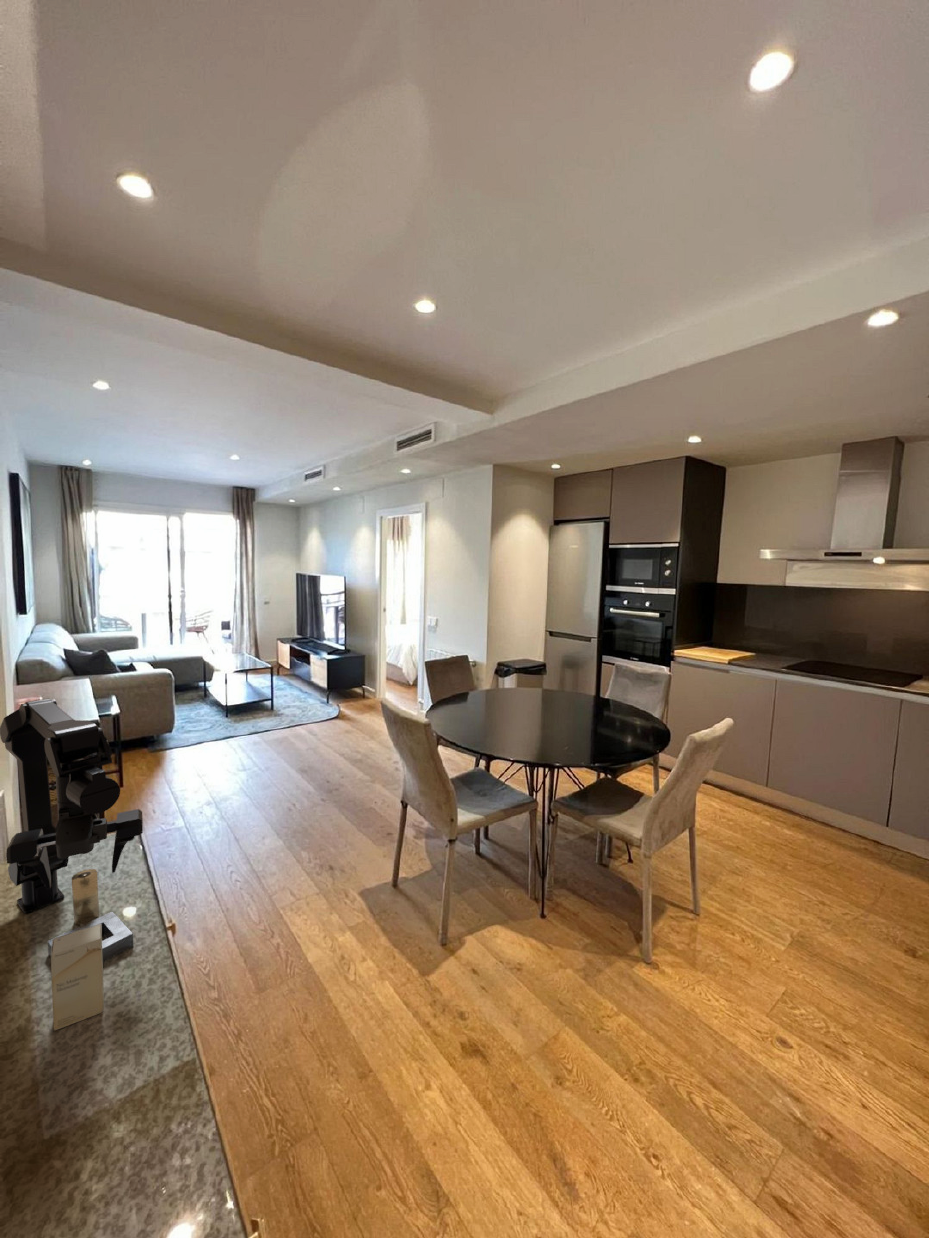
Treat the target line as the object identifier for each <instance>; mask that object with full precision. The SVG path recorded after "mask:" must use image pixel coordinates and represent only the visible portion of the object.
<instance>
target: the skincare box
mask: <svg viewBox="0 0 929 1238" xmlns="http://www.w3.org/2000/svg"><path fill="white" fill-rule="evenodd" d="M59 936H60V935H59ZM56 937H57V938H55V937H54V938H52V939H53V942H52V948H51V957H50V965H51V966H50V969H51V992H52V995H51V996H52V1017H53V1019H52V1021H53V1031H57V1030H60V1029H63V1028H66V1027H68V1026H71V1025H73V1024H75V1023H78V1022H81V1021H83V1020H86V1019H88V1018H91V1017H93V1016H96V1015H99V1014H101V1013H103V1012H104V1005H105V1003H104V1000H105V993H104V990H105V989H104V968H103V967H104V965H103V963H104V962H103V958H102V941H103V935H102V925H101V924H98V925H95V926H92V927H88V928H85V929H82V930H78V931H75V932H72V933H69V934H66V935H63V936H60V937H58V936H56Z"/></svg>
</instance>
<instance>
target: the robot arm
mask: <svg viewBox="0 0 929 1238" xmlns="http://www.w3.org/2000/svg"><path fill="white" fill-rule="evenodd" d="M0 740H1V742H2V743H3V744H4V745H5V747H4V748H5V749H6V751H8V753H10V754H11V755H12V756H13V757H14V758H15V759H16V761H17V769H18V781H19V793H20V801H21V802H20V804H21V814H22V815H21V816H22V823H23V824H22V825H23V830H22V832H17V833H15V834H14V835H13V837H12V838H11V839H10V841H9V843H8V846H7V848H6V853H5V854H6V855H5V856H6V864H8V867H7V871H8V876H9V880H10V881H12V883H13V884H14V885H15V886H16V887H17V886H20V885H21V886H20V887H21V898H18V899H16V904H17V905H18V906H19V907H20V910H21V911H22V912H23V914H24V915H26V914H29V913H32V912H34V911H36V910H39V909H41V908H43V907H46V906H50V905H51V904H54V903H56V902H58V901H61V900H63V899H64V898H65V893H63V892H62V891H61V889H60V888H59V885H58V884H59V883H58V870H61V869H63V868H67V867H68V863H69V859H70V858H69V857H73V856H78V855H85V854H88V853H90V852H92V851H93V850H94V848H95V846H94V845H95V844H98V843H101V841H104V840H107V838H108V834H111V833H115V836H114V844H113V845H114V846H113V851H112V852H113V853H112V860H111V861H112V862H111V872H112V874H113V873H116V870H117V866H118V864H119V861H120V858H121V855H122V852H123V850H124V848H125V846H126V844H128V842H131V841H133V840H134V839H135V837H137V836H140V835H142V834H143V833H144V831H143V829H144V828H143V826H144V825H143V824H144V822H143V819H144V817H143V811H142V810H141V809H139V808H137V809H132V810H128V811H127V810H126V811H121V812H118V813H117V815H116V820H110V821H107V818H106V817H104V818H100V814H102V813H104V812H106V811H108V810H110V809H111V808H112V807H113V806H115V804H116V803H117V801H118V800H119V797H120V794H121V787H120V785H119V784H118V782H117V781H116V780H115V779H113V778H111V777H109V776H108V775H107V773H106V770H104V769H103V766H105V765H110V764H112V763H113V759H112V754H113V751H112V748H111V746H110V743H109V741H108V739H107V736H106V734H105V733H104V731H103V730H102V728H101V727H99V726H98V725H97V724H96V723H94V722H92V721H89V720H83V719H82V720H80V719H79V720H77V719H74V718H73V717H72V716H70V715H69V714H68V713H67V712H65V711H64V709H62V708H61V707H59V706H58V703H57V701H56V699H55V698H43V699H38V700H37V699H36V700H29V701H26V702H24V703H21V704H20V706H19V708H18V709H17V710H15V711H13V712H11V713H9V714H8V715H6V716H5V717H3V720H2V722H1V724H0ZM98 754H99V755H98ZM48 762H49V765H50V767H51V769H52V771H53V774H54V775H55V784H56V785H55V787H56V802H57V803H56V804H57V807H56V808H57V820H58V821H57V823H56V826H54V825H53V813H52V803H51V792H50V791H51V790H50V781H49V778H50V777H49V769H48Z"/></svg>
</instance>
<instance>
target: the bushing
mask: <svg viewBox="0 0 929 1238" xmlns="http://www.w3.org/2000/svg"><path fill="white" fill-rule="evenodd" d="M71 890H72V891H71V892H72V904H73V906H72V907H73V908H72V909H73V921H74V922H73V923H74V924H75V925H77V926H82V925H84V924H86V923H88V922H90V921H92V920H95V919H97V918H99V917H100V904H99V903H100V901H99V899H100V898H99V883H98V870H97V869H94V868H87V869H84V870H81V871H79V872H77V873H75V874H74V875H73V876H71Z"/></svg>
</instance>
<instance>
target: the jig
mask: <svg viewBox="0 0 929 1238" xmlns="http://www.w3.org/2000/svg"><path fill="white" fill-rule="evenodd" d="M98 924H101V925H102V936H104V937H105V939H104V940H103V939H102V958H103V963H104V962H106V961H108V960H110V959H112V958H114V957H115V956H117V955H120V954H122V953H123V952H125V951H127V950H129V949H131V948H133V947H134V933H133V932H132V931H131V930H130V929H129V928H128V927H127V925H125V923H124V922H123V921H122V920H121V919H120V918H119V917H118V916H117V915H116V914H115V913H114V912H113V911H111V912H108V913H106V914H103V915H101V916H98V918H96V919H95V920H92V921H90V922H88V923H86V924H83V925H78V927H75V928H74V929H70V930H69V931H67V932H64V933H62V934H59V935H57V936H56V937H54V938H57V937H60V936H63V935H66V934H69V933H72V932H75V931H78V930H82V929H85V928H88V927H92V926H95V925H98ZM52 942H53V938H51V939H50V940H47V953H48V956H49V957H50V958H51V948H52Z"/></svg>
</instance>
